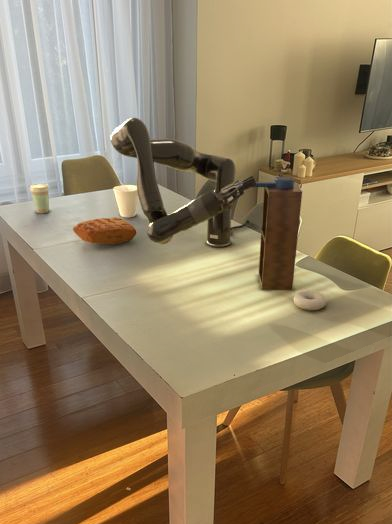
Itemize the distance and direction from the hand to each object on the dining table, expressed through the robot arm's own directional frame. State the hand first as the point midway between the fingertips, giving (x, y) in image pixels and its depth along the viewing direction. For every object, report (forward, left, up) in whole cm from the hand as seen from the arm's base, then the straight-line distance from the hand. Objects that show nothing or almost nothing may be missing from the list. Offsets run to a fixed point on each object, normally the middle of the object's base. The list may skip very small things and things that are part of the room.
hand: (254, 179), depth 166 cm
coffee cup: (-47, -113, -34) cm, 127 cm away
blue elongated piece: (-1, +3, -2) cm, 4 cm away
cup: (-56, -73, -34) cm, 98 cm away
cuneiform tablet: (-20, -65, -34) cm, 76 cm away
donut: (+10, +22, -34) cm, 42 cm away
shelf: (-3, +8, -34) cm, 35 cm away
